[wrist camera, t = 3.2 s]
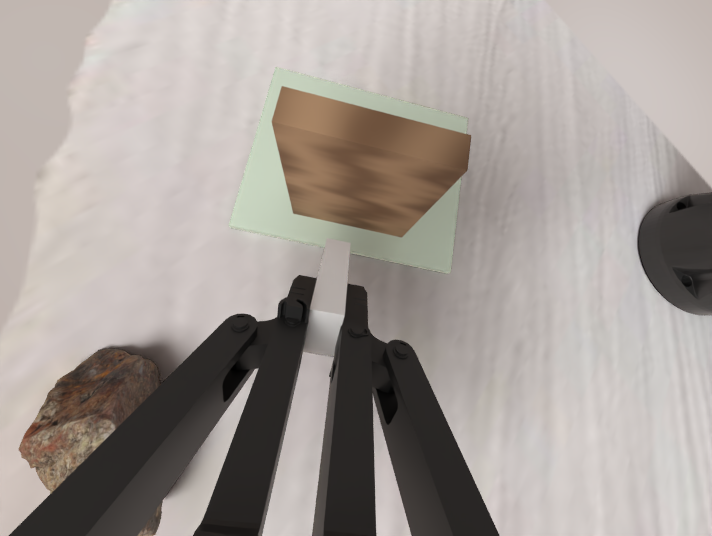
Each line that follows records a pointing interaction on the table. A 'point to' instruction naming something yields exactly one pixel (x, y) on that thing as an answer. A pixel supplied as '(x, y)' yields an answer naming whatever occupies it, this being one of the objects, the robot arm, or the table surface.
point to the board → (363, 162)
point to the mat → (276, 219)
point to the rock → (88, 415)
